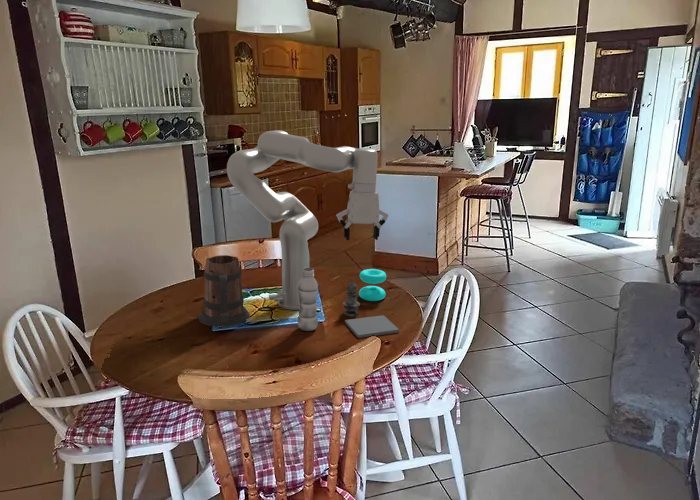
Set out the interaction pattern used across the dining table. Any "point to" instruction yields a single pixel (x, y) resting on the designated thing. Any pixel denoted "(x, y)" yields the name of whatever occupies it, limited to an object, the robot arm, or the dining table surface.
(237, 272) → the tankard
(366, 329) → the mat
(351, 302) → the stone chess piece
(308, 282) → the plastic bottle
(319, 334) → the dining table surface
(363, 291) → the donuts
